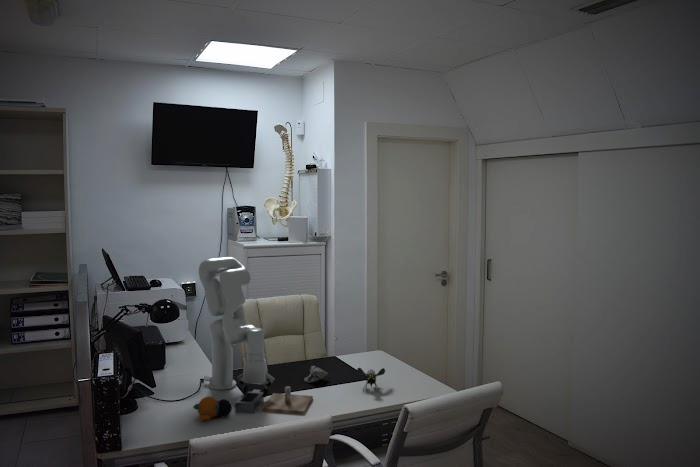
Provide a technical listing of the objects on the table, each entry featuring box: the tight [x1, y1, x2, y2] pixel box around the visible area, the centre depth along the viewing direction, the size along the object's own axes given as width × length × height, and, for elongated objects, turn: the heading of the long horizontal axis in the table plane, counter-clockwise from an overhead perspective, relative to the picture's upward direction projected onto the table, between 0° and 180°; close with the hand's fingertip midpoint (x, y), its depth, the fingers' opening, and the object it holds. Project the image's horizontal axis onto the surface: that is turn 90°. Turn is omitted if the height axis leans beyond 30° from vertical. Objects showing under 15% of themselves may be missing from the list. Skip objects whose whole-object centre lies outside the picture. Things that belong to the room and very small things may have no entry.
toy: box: [193, 396, 233, 422], centre depth 230 cm, size 12×10×15 cm
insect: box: [356, 367, 386, 393], centre depth 263 cm, size 13×16×10 cm
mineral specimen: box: [303, 365, 329, 384], centre depth 274 cm, size 10×8×10 cm
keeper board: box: [261, 386, 314, 415], centre depth 244 cm, size 18×17×8 cm
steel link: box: [234, 389, 265, 414], centre depth 243 cm, size 16×8×4 cm, turn 170°
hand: (255, 395), depth 249 cm, fingers closed on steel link, 8 cm apart
